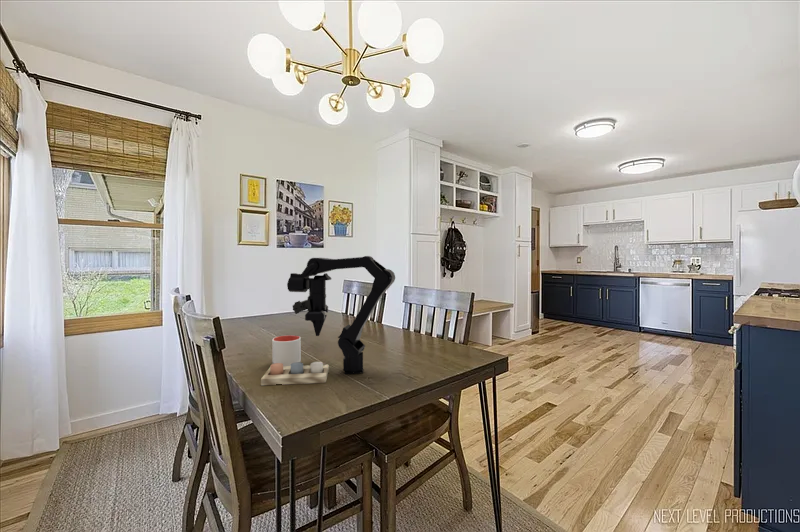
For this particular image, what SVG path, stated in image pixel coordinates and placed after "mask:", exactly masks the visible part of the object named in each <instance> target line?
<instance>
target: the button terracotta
mask: <svg viewBox="0 0 800 532" xmlns="http://www.w3.org/2000/svg"><path fill="white" fill-rule="evenodd" d="M269 368H270V375H283V364H282V363H274V364H273V363H272V364H270V365H269Z"/></svg>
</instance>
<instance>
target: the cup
mask: <svg viewBox="0 0 800 532" xmlns="http://www.w3.org/2000/svg"><path fill="white" fill-rule="evenodd" d="M301 340H302V339H301V336H299V335H280V336H276V337H275V336H274V337H273V338H272V340H271V342H272V345H271V346H272V348H271V349H272V355H271V356H272V358H271V359H272V364H274V363H282V364H283V366H291V364H292V363H296V362H302V360H301V358H302V357H301V354H302V351H301V350H302V349H301V346H302V345H301V343H302V342H301Z"/></svg>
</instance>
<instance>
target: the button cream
mask: <svg viewBox="0 0 800 532" xmlns="http://www.w3.org/2000/svg"><path fill="white" fill-rule="evenodd" d="M310 365H311V373H323V365H324V363H323V362H322V361H313V362H310Z"/></svg>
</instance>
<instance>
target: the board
mask: <svg viewBox="0 0 800 532" xmlns="http://www.w3.org/2000/svg"><path fill="white" fill-rule="evenodd" d="M329 371H330V366H329V364H323V373H311V364H310V365H308V364H307V365H303V374H291V366H283V375H270V367H269V368H268V369H267V370H266V372H265V373H264V375H263V376H262V377H261V378H260V386H277V385H276V384H282V385H301V384H302V385H304V384H305V385H306V384H324V383H325V384H326V383H327V378H328V376H329V375H328V374H329Z"/></svg>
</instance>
